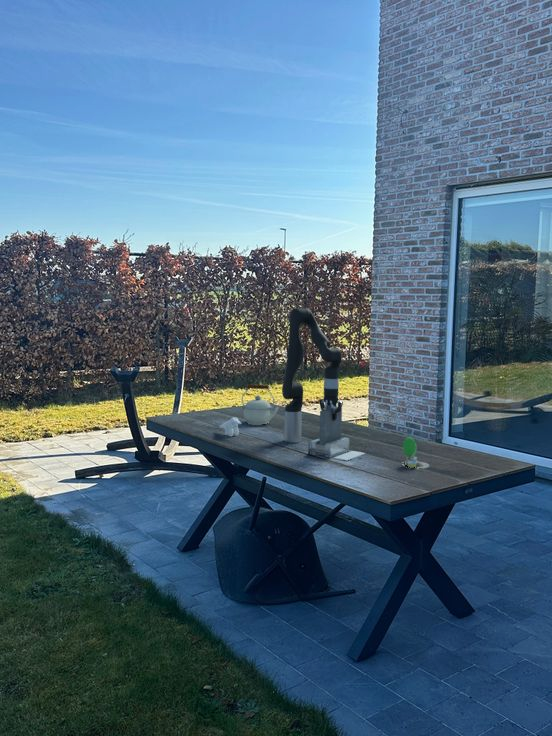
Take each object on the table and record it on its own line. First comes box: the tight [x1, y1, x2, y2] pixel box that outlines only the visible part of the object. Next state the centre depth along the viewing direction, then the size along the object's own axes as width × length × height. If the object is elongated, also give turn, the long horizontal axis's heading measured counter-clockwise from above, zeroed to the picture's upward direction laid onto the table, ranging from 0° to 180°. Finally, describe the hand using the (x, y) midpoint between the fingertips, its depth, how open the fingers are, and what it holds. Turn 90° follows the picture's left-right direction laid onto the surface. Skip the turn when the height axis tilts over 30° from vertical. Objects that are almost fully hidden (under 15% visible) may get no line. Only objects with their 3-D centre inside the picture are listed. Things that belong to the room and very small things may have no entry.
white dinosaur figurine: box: [218, 416, 242, 438], centre depth 367 cm, size 7×24×11 cm, turn 39°
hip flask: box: [318, 405, 343, 446], centre depth 325 cm, size 16×4×20 cm, turn 135°
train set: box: [402, 436, 430, 470], centre depth 303 cm, size 15×14×14 cm
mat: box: [333, 450, 367, 462], centre depth 319 cm, size 8×18×1 cm, turn 142°
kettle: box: [241, 384, 280, 426], centre depth 401 cm, size 25×18×25 cm
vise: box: [307, 436, 350, 459], centre depth 326 cm, size 14×19×7 cm
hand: (330, 419), depth 324 cm, fingers closed on hip flask, 4 cm apart
